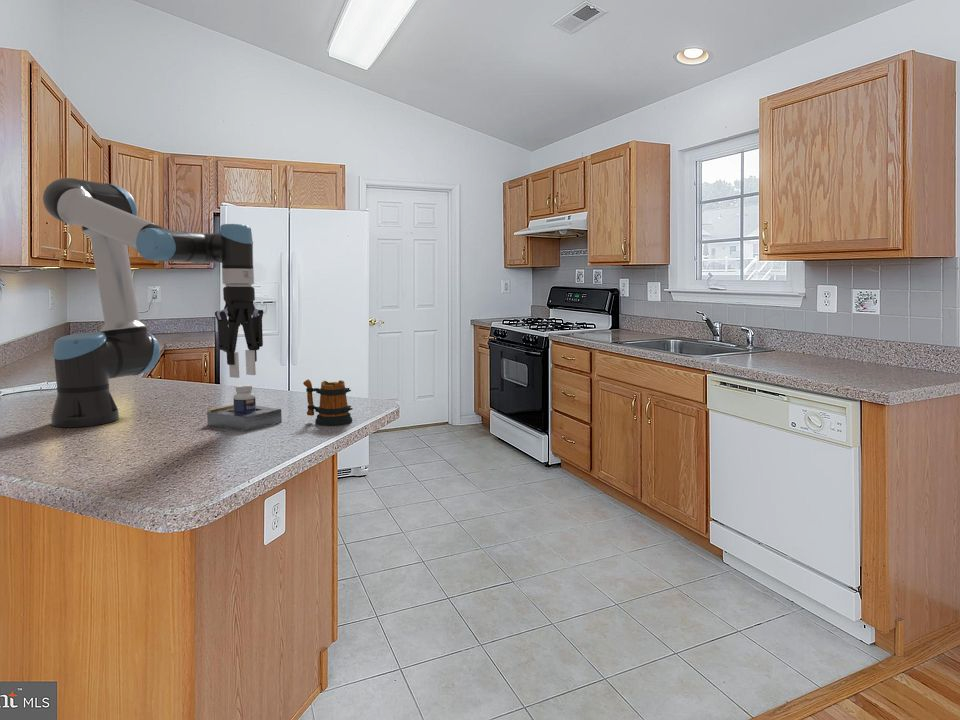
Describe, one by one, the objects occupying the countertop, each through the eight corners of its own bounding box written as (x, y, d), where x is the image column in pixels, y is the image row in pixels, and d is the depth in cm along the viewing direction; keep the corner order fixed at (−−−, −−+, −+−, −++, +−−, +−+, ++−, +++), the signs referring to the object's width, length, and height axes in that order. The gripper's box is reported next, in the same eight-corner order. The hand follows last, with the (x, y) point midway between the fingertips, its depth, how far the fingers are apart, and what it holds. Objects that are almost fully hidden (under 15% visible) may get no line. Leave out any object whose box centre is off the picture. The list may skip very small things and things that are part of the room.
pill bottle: (249, 425, 159) (247, 387, 158) (230, 424, 160) (228, 387, 159) (260, 420, 164) (258, 384, 163) (242, 419, 165) (240, 383, 164)
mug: (357, 418, 169) (356, 376, 167) (348, 426, 159) (347, 382, 157) (310, 417, 169) (308, 376, 168) (298, 426, 159) (296, 382, 158)
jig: (207, 425, 160) (206, 409, 160) (245, 416, 171) (244, 402, 170) (244, 431, 153) (244, 415, 153) (281, 421, 164) (281, 406, 163)
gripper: (219, 285, 148) (224, 381, 151) (275, 285, 164) (279, 372, 166) (198, 285, 152) (204, 379, 155) (256, 285, 167) (259, 371, 170)
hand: (242, 375), depth 160 cm, fingers open, 4 cm apart
